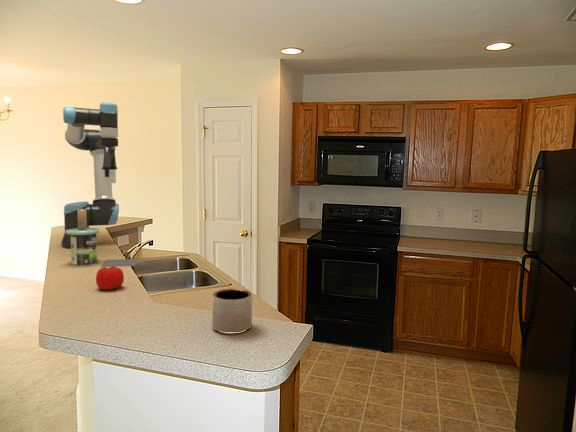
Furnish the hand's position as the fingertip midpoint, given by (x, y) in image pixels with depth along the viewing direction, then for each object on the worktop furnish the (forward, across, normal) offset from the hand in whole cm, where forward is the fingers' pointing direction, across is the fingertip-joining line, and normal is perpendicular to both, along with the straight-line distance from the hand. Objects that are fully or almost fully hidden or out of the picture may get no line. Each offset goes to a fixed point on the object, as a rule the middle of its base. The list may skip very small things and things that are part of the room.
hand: (110, 183), depth 195 cm
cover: (+21, +15, -9) cm, 27 cm away
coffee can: (+35, +15, -9) cm, 39 cm away
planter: (+35, +98, +47) cm, 114 cm away
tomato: (+35, +54, +8) cm, 65 cm away
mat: (+35, +16, +6) cm, 39 cm away
